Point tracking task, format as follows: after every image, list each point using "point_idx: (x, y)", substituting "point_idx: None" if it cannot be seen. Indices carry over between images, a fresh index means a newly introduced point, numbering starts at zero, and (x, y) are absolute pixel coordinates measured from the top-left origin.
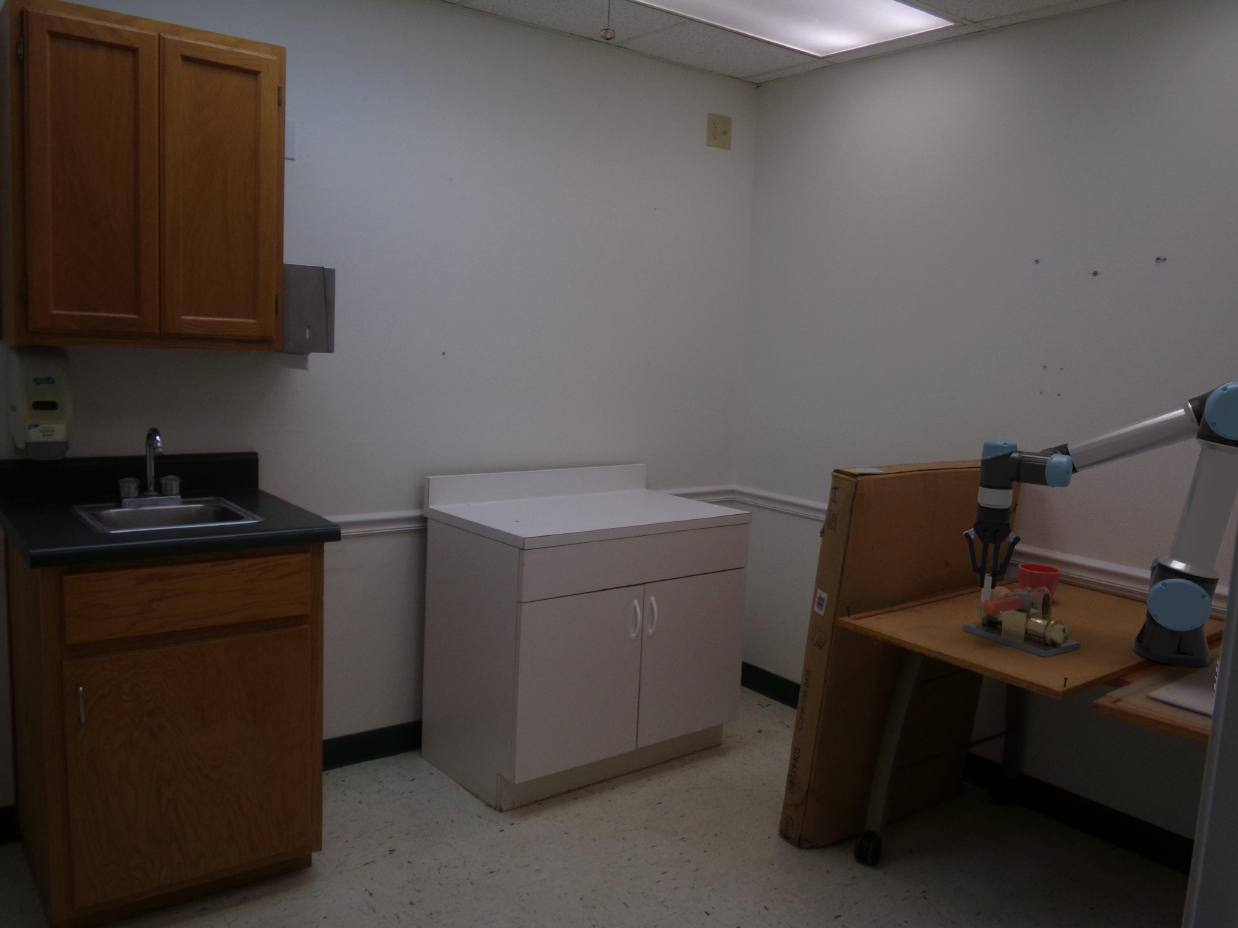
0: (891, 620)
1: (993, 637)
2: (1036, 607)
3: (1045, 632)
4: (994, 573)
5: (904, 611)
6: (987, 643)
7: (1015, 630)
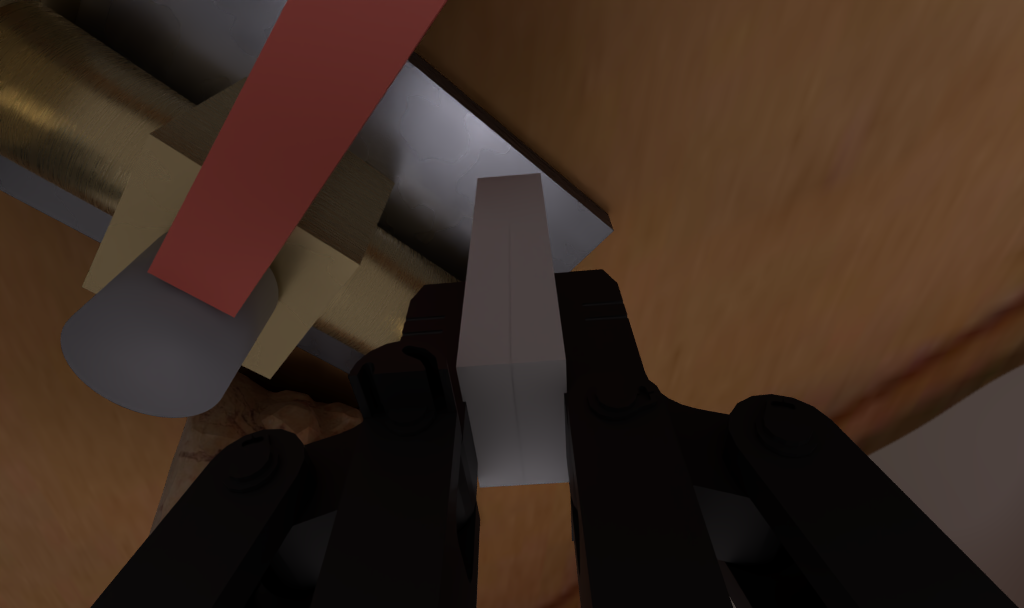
0: (982, 234)
1: (443, 81)
2: (198, 431)
3: None
4: (409, 418)
5: (831, 396)
6: None
7: None
